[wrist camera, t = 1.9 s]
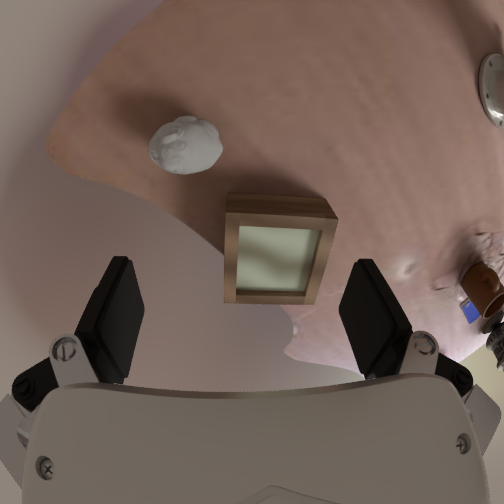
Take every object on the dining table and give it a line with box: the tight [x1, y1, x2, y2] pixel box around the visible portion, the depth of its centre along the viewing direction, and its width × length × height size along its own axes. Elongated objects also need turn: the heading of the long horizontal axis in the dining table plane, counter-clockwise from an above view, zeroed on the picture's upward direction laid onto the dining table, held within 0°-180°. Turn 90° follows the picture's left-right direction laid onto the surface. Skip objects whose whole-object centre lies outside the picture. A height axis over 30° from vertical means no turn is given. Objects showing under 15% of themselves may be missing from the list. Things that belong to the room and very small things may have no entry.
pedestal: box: [224, 192, 338, 305], centre depth 34 cm, size 13×12×5 cm
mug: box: [462, 263, 504, 319], centre depth 37 cm, size 12×8×9 cm, turn 35°
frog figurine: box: [148, 116, 223, 174], centre depth 25 cm, size 6×7×7 cm
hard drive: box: [460, 298, 480, 324], centre depth 48 cm, size 2×8×12 cm
